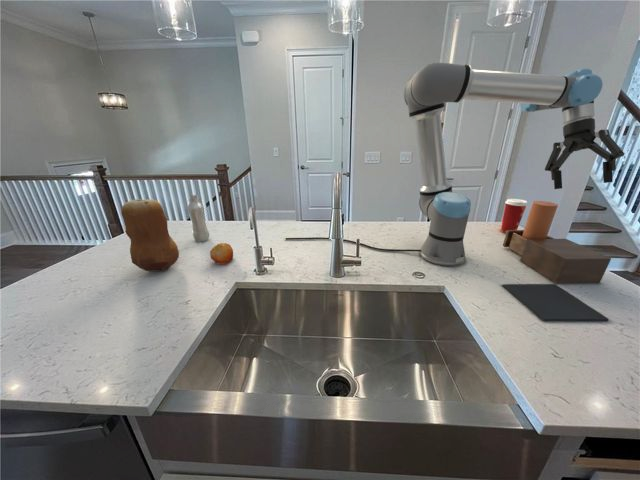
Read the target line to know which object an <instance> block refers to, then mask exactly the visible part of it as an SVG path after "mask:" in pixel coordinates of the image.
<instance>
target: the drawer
mask: <svg viewBox="0 0 640 480" xmlns="http://www.w3.org/2000/svg"><path fill="white" fill-rule="evenodd" d="M523 232H524V229H517V230H507V231H506V232H505V233H504V234H505V236H504V240H503V243H502V247H504V248H509V249H510V250H511V251H513V252H515V253H517V254H518V255H520V256H522V253H523V250H524V247H525V244H526V241H527V239H526V238H524V237H522V235H523ZM546 239H555V238H554V237H552V236H550V235H547V238H546Z"/></svg>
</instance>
